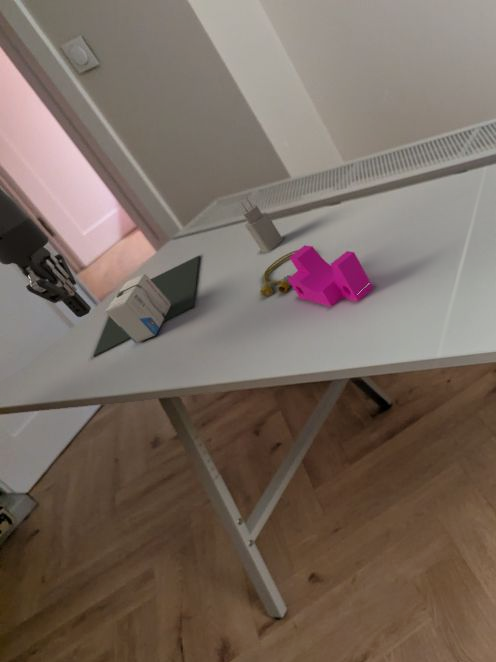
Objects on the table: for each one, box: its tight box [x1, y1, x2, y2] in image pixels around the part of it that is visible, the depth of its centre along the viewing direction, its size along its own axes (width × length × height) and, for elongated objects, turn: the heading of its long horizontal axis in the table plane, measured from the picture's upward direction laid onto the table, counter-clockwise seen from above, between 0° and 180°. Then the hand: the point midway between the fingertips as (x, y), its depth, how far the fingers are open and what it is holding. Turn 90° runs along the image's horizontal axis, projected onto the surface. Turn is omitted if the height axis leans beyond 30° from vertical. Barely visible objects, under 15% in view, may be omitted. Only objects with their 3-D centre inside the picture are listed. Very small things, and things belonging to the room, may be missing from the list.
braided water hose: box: [260, 249, 299, 298], centre depth 109 cm, size 12×16×2 cm
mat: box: [93, 255, 201, 358], centre depth 123 cm, size 30×22×1 cm
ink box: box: [105, 273, 171, 344], centre depth 109 cm, size 8×5×12 cm
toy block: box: [288, 244, 374, 307], centre depth 93 cm, size 15×6×8 cm, turn 51°
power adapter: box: [240, 197, 284, 253], centre depth 121 cm, size 3×5×12 cm, turn 158°
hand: (85, 313), depth 94 cm, fingers closed
